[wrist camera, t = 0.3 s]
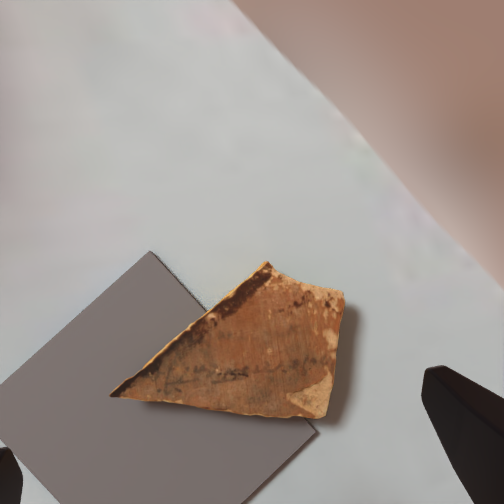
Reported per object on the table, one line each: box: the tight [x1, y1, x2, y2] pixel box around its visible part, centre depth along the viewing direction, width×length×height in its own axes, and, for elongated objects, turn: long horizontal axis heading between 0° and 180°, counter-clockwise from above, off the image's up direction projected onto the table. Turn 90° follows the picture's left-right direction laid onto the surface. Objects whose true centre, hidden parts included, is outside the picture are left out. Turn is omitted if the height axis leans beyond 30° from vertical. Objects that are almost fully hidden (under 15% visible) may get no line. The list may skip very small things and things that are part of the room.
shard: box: [109, 261, 345, 419], centre depth 23 cm, size 11×8×2 cm
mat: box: [0, 251, 316, 504], centre depth 23 cm, size 13×12×1 cm
